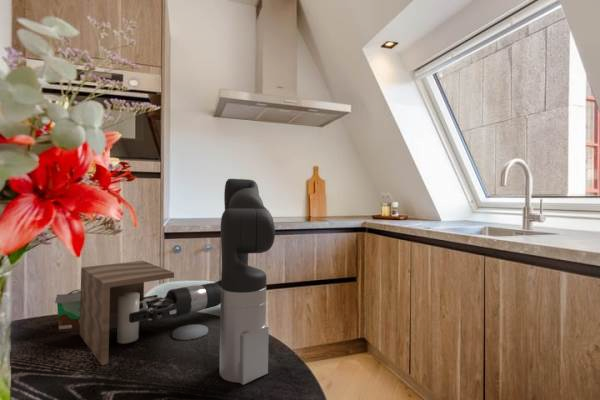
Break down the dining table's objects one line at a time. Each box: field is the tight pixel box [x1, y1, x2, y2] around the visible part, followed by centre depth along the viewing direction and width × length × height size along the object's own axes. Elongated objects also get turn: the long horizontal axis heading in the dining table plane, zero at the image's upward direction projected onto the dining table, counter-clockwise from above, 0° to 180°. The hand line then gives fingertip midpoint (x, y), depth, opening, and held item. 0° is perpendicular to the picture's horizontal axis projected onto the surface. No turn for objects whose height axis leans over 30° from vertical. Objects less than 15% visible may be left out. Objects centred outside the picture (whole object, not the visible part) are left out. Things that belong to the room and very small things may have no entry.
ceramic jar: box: [116, 292, 140, 344], centre depth 79 cm, size 5×5×11 cm
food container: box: [54, 288, 81, 333], centre depth 87 cm, size 12×6×10 cm, turn 179°
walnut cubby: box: [79, 260, 175, 366], centre depth 79 cm, size 21×15×17 cm
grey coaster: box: [171, 324, 209, 341], centre depth 83 cm, size 9×9×1 cm
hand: (124, 313), depth 78 cm, fingers open, 8 cm apart
